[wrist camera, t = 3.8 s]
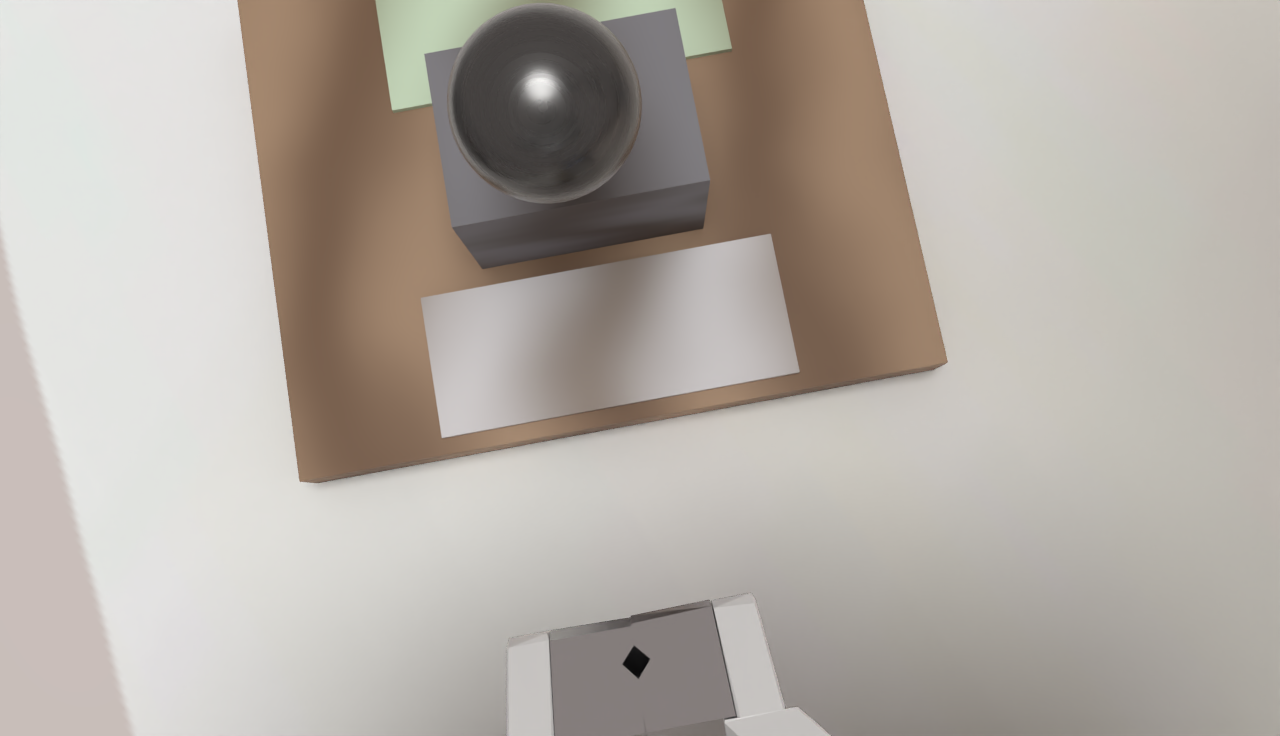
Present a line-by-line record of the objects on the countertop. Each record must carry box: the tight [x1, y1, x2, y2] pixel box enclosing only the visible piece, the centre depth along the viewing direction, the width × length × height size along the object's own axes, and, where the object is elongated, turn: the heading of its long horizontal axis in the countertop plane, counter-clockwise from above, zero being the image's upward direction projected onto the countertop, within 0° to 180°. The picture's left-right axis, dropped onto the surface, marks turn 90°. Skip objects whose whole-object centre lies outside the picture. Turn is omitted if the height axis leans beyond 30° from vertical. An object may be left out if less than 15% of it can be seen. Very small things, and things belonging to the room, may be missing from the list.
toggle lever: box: [447, 3, 642, 204], centre depth 20 cm, size 3×3×13 cm
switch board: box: [238, 0, 948, 483], centre depth 29 cm, size 20×16×6 cm
